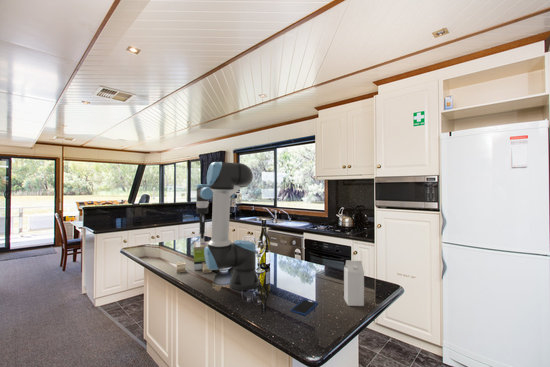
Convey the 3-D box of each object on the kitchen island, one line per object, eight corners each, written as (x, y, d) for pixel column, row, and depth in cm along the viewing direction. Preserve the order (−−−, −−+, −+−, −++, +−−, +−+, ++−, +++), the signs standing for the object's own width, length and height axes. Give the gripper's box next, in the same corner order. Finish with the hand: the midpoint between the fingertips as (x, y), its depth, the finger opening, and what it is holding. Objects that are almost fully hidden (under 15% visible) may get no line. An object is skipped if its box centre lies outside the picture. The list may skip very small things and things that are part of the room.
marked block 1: (185, 271, 157) (185, 263, 157) (176, 272, 156) (176, 264, 156) (185, 269, 162) (185, 261, 162) (176, 270, 160) (176, 262, 160)
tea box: (193, 263, 175) (194, 241, 175) (208, 262, 178) (209, 240, 178) (193, 270, 160) (193, 246, 161) (210, 268, 163) (210, 245, 164)
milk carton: (343, 299, 120) (344, 258, 120) (359, 299, 120) (359, 258, 120) (347, 306, 113) (347, 262, 113) (364, 306, 113) (364, 263, 113)
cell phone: (318, 304, 116) (318, 302, 116) (305, 317, 104) (305, 315, 104) (304, 300, 119) (304, 298, 119) (289, 312, 108) (289, 310, 108)
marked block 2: (211, 272, 157) (211, 263, 157) (203, 273, 155) (203, 264, 156) (210, 269, 162) (210, 261, 162) (202, 270, 160) (202, 262, 160)
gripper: (209, 207, 165) (209, 244, 165) (207, 206, 177) (206, 240, 177) (197, 208, 162) (196, 245, 162) (195, 206, 174) (195, 241, 174)
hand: (201, 243), depth 169 cm, fingers closed
